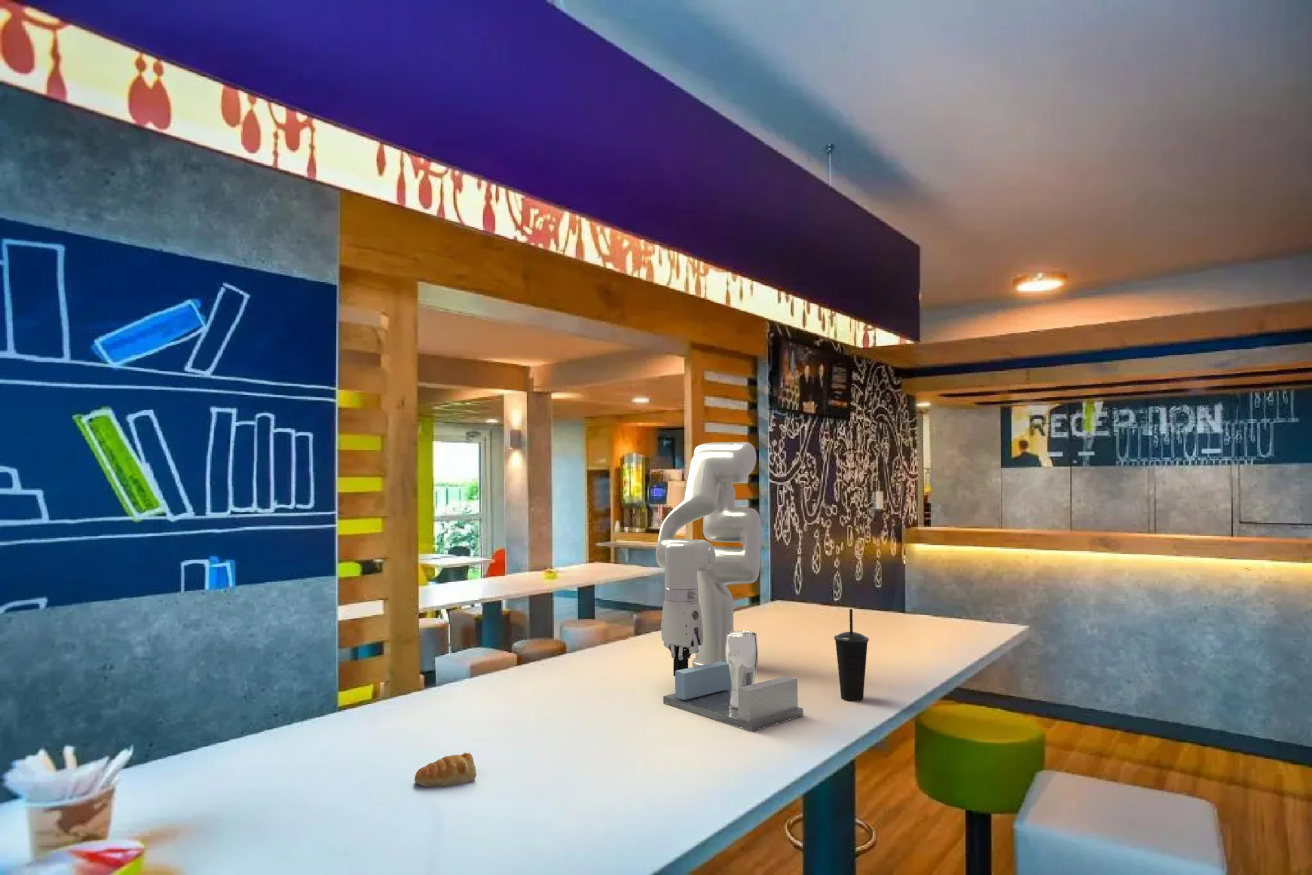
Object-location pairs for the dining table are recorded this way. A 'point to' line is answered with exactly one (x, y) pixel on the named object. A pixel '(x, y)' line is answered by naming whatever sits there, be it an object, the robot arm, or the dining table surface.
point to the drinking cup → (851, 662)
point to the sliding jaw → (701, 680)
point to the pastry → (447, 771)
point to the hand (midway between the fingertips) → (680, 675)
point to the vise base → (724, 711)
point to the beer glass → (740, 662)
